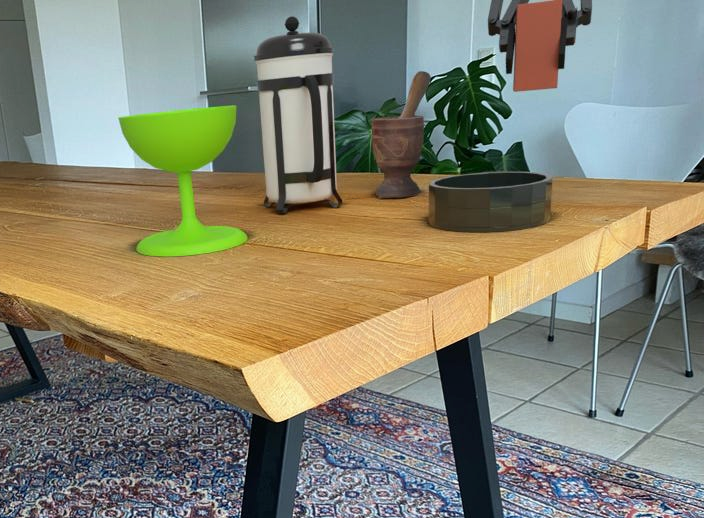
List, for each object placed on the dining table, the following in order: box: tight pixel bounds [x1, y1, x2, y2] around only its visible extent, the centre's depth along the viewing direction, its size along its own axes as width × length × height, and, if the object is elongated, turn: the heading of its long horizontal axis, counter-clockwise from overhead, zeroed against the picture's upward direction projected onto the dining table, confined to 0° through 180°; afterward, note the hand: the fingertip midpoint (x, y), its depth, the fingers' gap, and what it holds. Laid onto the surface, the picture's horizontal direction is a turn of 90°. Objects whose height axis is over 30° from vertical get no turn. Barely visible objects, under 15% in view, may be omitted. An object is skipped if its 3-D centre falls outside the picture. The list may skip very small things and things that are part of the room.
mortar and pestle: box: [370, 70, 432, 200], centre depth 126 cm, size 12×9×20 cm
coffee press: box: [253, 15, 344, 215], centre depth 120 cm, size 17×16×30 cm
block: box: [512, 0, 562, 93], centre depth 102 cm, size 6×6×11 cm
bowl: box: [428, 171, 553, 233], centre depth 99 cm, size 15×16×6 cm
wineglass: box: [117, 105, 248, 258], centre depth 102 cm, size 16×16×18 cm
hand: (534, 63), depth 99 cm, fingers closed on block, 6 cm apart
